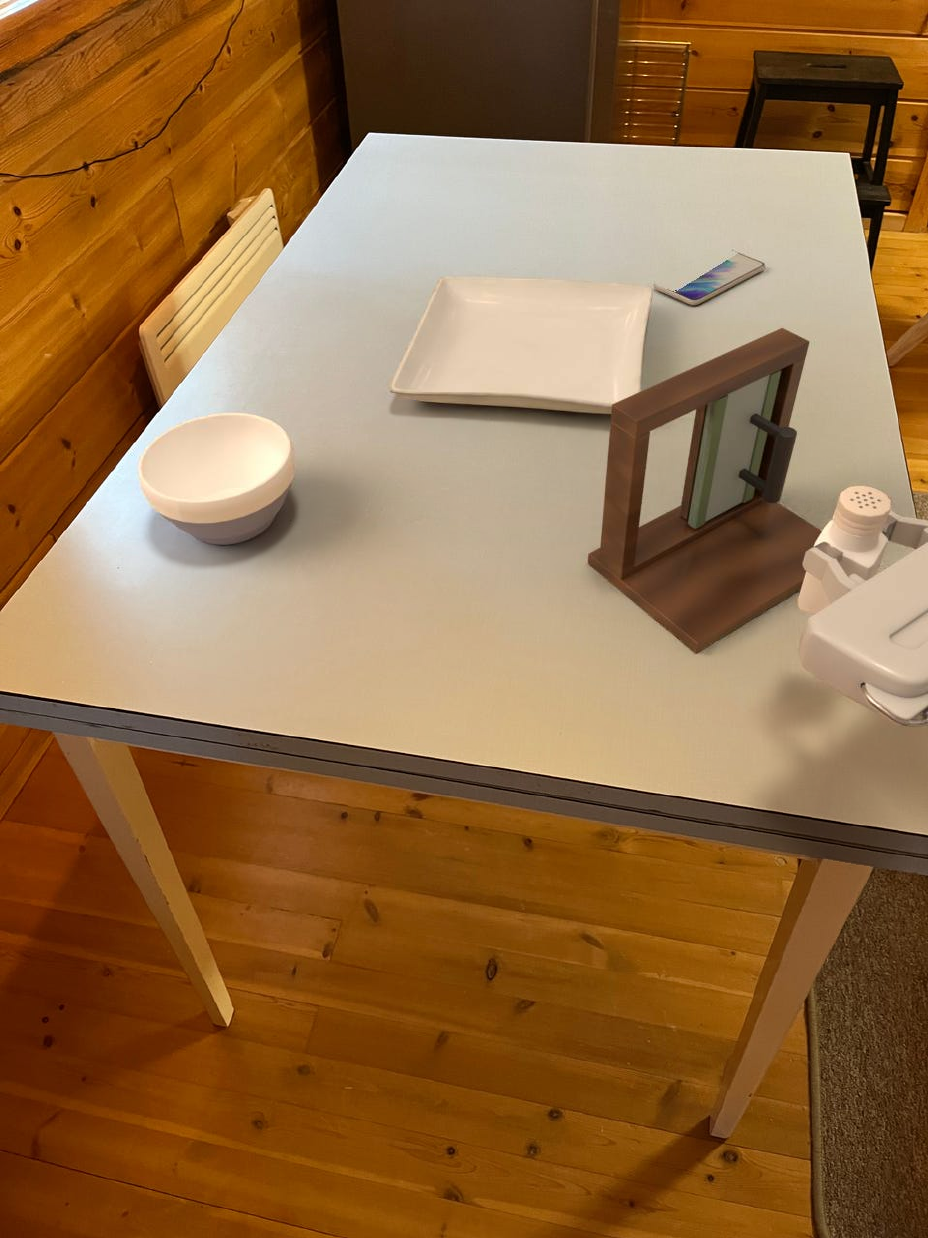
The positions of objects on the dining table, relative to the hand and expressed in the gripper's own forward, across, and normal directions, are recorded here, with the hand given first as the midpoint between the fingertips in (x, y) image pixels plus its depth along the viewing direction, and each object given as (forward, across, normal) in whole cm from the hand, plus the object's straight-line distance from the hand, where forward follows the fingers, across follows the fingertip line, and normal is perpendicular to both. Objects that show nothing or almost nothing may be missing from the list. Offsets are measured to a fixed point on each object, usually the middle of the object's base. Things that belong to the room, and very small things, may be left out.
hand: (841, 535), depth 63 cm
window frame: (+14, +6, -16) cm, 22 cm away
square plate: (+53, +14, -16) cm, 57 cm away
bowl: (+48, -27, -16) cm, 57 cm away
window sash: (+15, +9, -13) cm, 22 cm away
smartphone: (+54, +45, -16) cm, 72 cm away
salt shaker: (-1, 0, -6) cm, 6 cm away
